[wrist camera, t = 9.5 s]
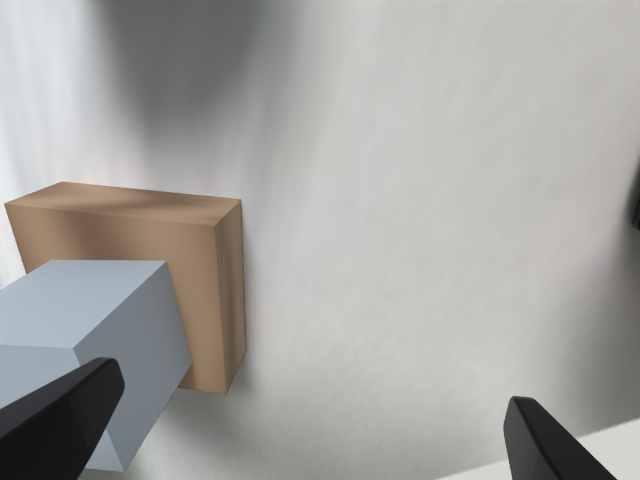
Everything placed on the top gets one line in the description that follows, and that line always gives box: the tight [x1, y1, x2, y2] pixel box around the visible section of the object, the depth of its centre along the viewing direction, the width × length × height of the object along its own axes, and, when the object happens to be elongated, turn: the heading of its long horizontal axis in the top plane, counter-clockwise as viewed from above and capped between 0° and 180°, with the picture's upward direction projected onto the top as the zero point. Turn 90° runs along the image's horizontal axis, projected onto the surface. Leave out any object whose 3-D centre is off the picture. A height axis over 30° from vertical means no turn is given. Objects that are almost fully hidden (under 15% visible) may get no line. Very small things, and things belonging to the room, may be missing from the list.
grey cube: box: [0, 260, 192, 472], centre depth 17 cm, size 6×6×6 cm
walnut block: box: [4, 182, 246, 395], centre depth 21 cm, size 10×10×4 cm
